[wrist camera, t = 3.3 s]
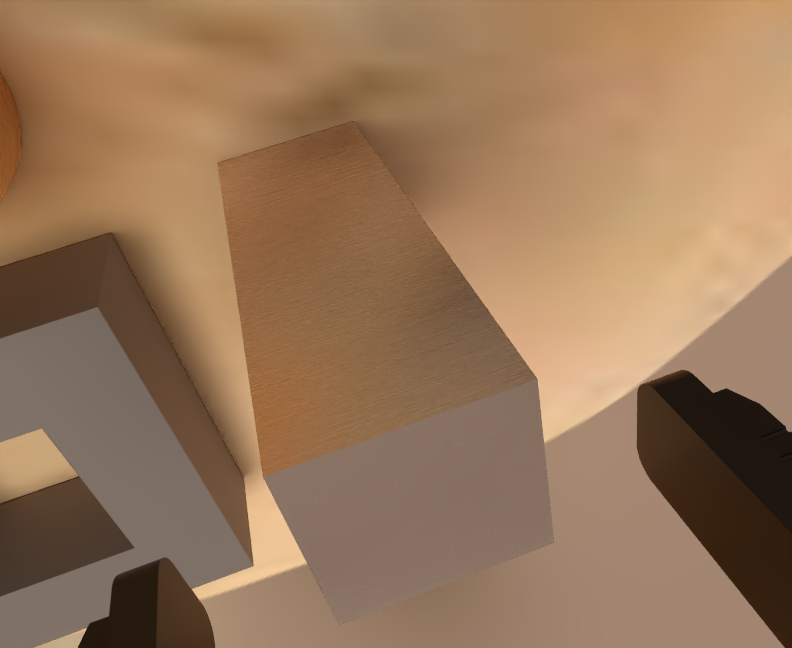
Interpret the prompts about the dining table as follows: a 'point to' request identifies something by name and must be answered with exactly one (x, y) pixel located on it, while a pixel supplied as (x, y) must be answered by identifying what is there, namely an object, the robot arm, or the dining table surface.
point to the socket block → (104, 446)
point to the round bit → (8, 137)
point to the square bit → (377, 380)
